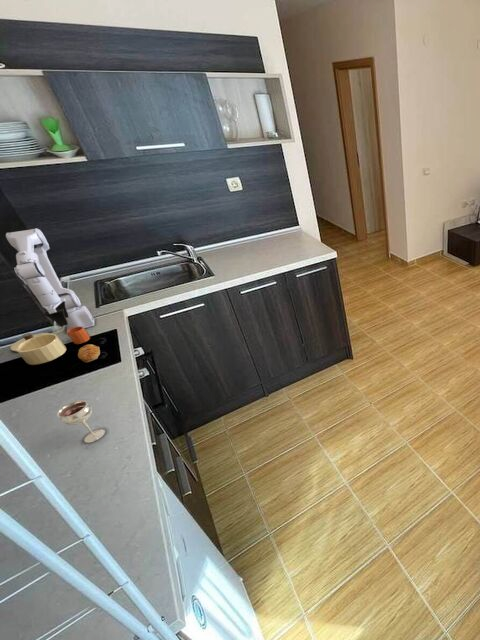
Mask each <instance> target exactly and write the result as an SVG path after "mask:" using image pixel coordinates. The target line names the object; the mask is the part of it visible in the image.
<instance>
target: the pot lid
mask: <svg viewBox="0 0 480 640" xmlns="http://www.w3.org/2000/svg"><path fill="white" fill-rule="evenodd" d="M45 334H51V333H50V332H41V333H35V334H32V333H30V332H28V333H24V334H23V335H22V338H21V339H19V340H17V341H15V342H13V344H11V346H10V347H9V348H10V350H11V351H12V352H16V353H18V352H17V351H16V347H17V346H18V345H19V344H21V343H22V342H24V341H26V340H28V339H31V338H34V337H37V336H40V335H45Z"/></svg>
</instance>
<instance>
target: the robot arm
mask: <svg viewBox="0 0 480 640" xmlns="http://www.w3.org/2000/svg"><path fill="white" fill-rule="evenodd" d="M5 238H6V240H7V242H8V243H9V244H10V246H11V247H13V248H14V249H15V250H16V251H17V252H16V254H15V259H16V266H15V267H14V268H13V269H14V272H15V274H16V276H17V277H18V278H19V279H20V280H21V281H22V282H23V283H24V284H25V286H28V288H29V289H30V291H31V292H32V293H33V295H34V296H35V297H36V299H37V300H38V302H39V303H40V305H41V307H42V308H43V309H45V310H46V311H44V313H43V315H44V316H45V317H48V318H49V319H51V320H52V321H54V322H55V323H57V325H59V326H60V327H64V326H66V332H67V331H68V330H69V329H71V328H74V327H78V326H82V327H83V328H84V329H88V328H91V327H95V318H94V317H93V315H92V314H91V312H90V311H89V309H88V307H87V306H86V305H82V303H81V301H80V298H79V297H78V296H77V294H76V292H75V291H74V290H73V289H70V288H65V287H64V286H63V285H62V283H61V281H60V279H59V277H58V275H57V272H56V271H55V269H54V267H53V265H52V263H51V261H50V259H49V257H48V254H47V251H49V250H50V249H51V247H50V244H49V242H48V240H47V238H46V236H45V235H44V233H43V232H42V230H41V229H39V228H37V227H36V228H32V229H31V228H30V229H26V230H19V231H11V232H6V233H5Z"/></svg>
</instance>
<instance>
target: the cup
mask: <svg viewBox="0 0 480 640" xmlns="http://www.w3.org/2000/svg"><path fill="white" fill-rule="evenodd" d="M66 335H67V336H68V337H69V338H70V340H71V341H72V342H71V343H73V344H75V345H80V344H83V343H86V342H88V341H89V340H90V339H91V336H90V335H89V334H88V332H87V330H86V328H83V327H82V326H78V327H74V328H71V329H69V330H68V331H67V330H66Z"/></svg>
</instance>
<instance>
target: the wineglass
mask: <svg viewBox="0 0 480 640" xmlns="http://www.w3.org/2000/svg"><path fill="white" fill-rule="evenodd" d="M92 414H93V408H92V406H91V405H90V404H88V401H87V400H84V399H82V400H81V399H80V400H75V401H71V402H70V403H67V404H66V405H64V406H63V407H61V408H60V409H59V410H58V411H57V412H56V416H57V417H58V418H59V419H60V421H61V422H62V423H63V424H65V425H68V426H76V425H80V424H82V425H83V426H84V427H85V428H86V430H87V431H88V432H90V433H88V434H87V435H85V437H84V438H83V439H84V443H88V444H89V443H94V442H95V441H98V440H100V439H101V438H102V437H103V436H104V435H105V434H106V430H105V429H101V428H100V429H96V430H92V429H91V427H90V426H89V425H88V423H87V422H86V421H88V420H89V419H90V418H91V416H92Z"/></svg>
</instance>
